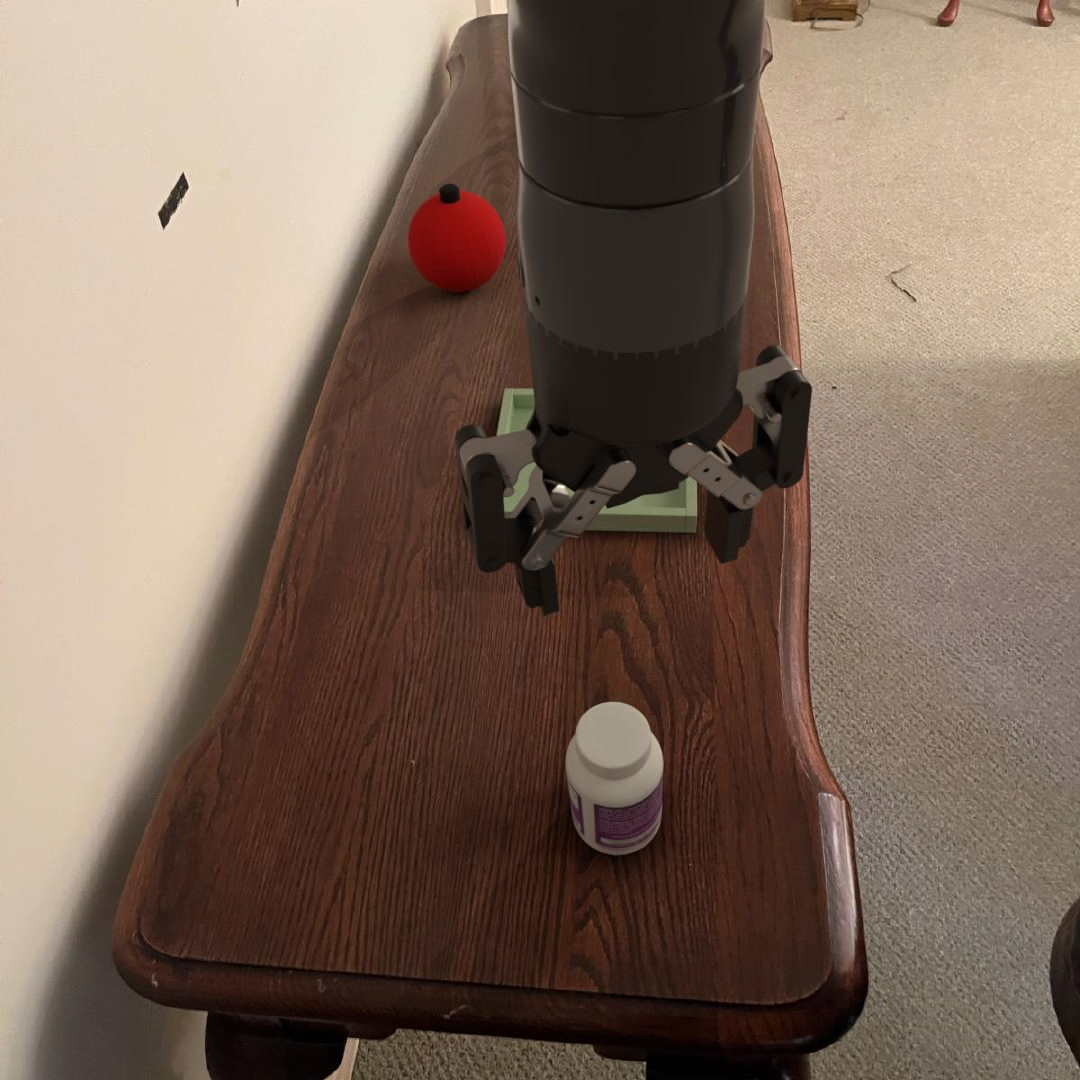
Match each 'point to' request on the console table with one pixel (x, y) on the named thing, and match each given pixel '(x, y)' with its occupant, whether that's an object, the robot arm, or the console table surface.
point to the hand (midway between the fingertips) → (634, 573)
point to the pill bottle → (615, 779)
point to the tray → (637, 515)
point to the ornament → (456, 240)
